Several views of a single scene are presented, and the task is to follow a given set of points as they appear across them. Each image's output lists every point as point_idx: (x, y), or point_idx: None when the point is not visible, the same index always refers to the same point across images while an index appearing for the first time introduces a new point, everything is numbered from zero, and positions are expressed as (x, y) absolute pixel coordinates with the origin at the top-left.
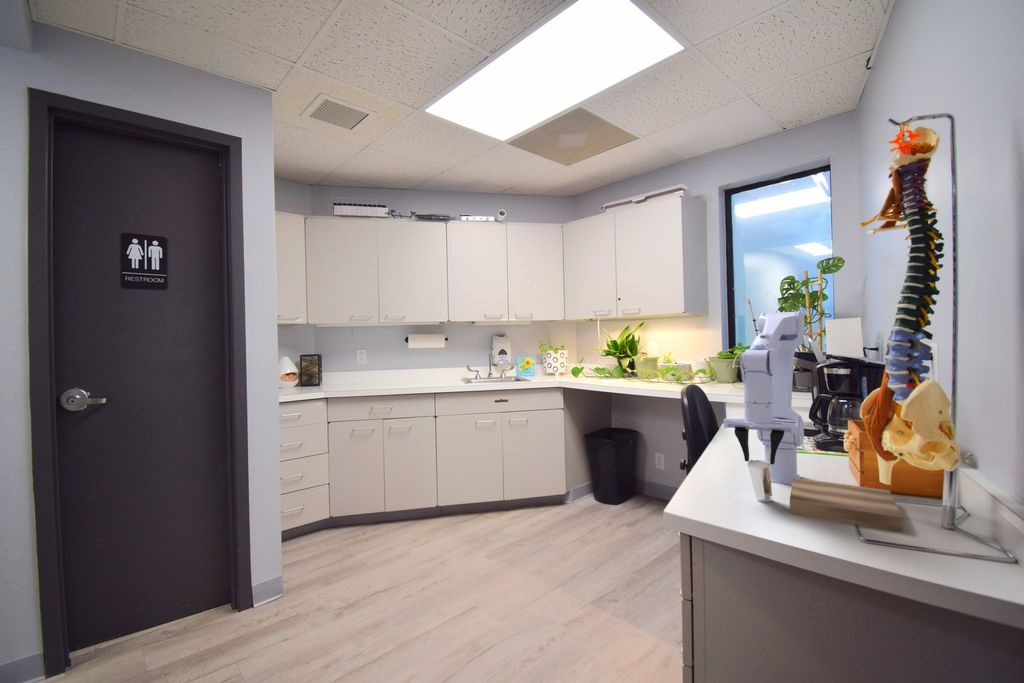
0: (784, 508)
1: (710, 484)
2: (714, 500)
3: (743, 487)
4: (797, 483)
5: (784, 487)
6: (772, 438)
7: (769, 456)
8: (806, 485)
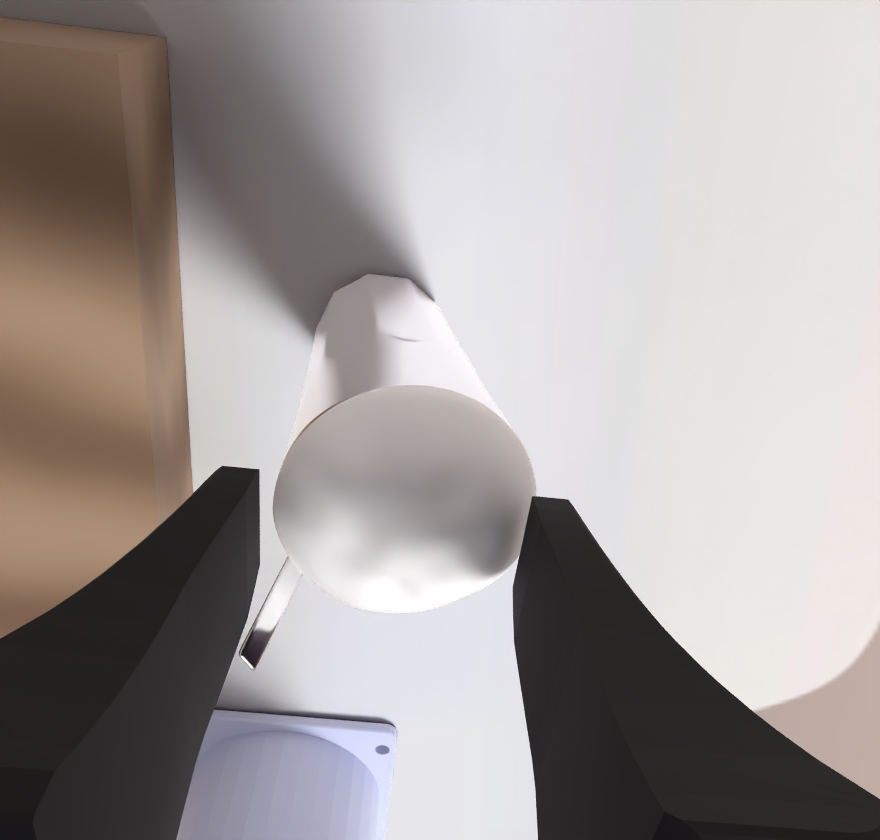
0: (222, 193)
1: (768, 546)
2: (806, 151)
3: None
4: None
5: None
6: (41, 725)
7: (265, 633)
8: (56, 558)
